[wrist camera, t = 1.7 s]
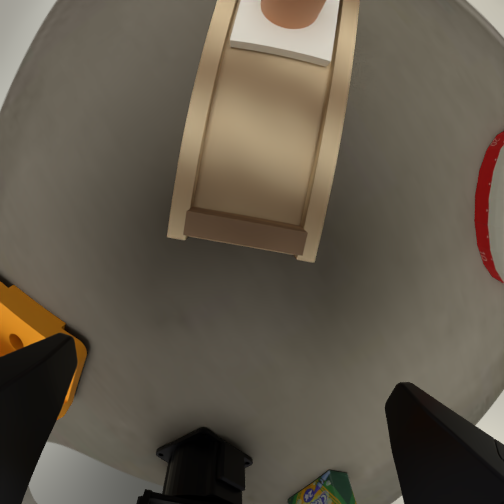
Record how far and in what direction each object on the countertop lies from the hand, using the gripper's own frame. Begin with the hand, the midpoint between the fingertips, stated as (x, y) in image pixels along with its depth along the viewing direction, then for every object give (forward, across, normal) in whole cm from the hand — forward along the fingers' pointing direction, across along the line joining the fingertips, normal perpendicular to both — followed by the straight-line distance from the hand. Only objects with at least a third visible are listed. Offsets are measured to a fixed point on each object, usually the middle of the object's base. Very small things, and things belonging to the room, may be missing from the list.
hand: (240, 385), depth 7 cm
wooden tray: (+12, 0, -9) cm, 15 cm away
